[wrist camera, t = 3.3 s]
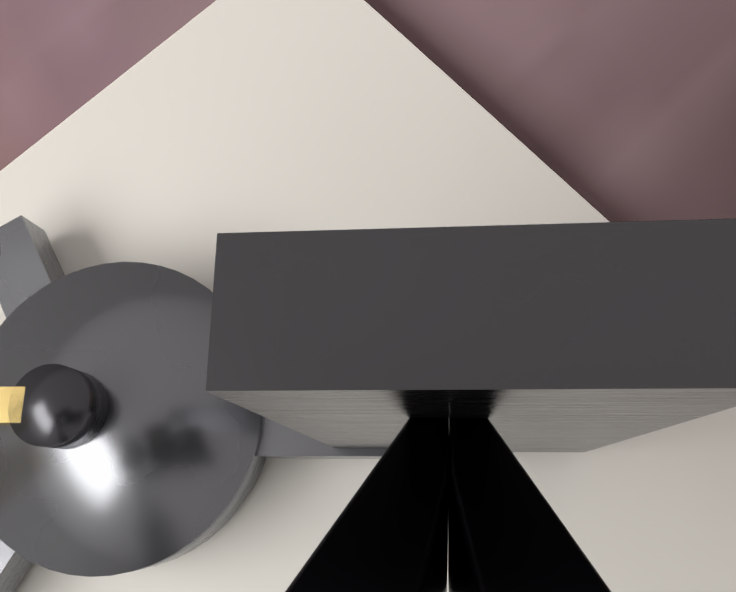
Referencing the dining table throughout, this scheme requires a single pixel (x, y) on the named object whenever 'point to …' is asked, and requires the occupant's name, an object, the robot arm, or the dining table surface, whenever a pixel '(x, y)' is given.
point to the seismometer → (332, 365)
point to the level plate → (342, 212)
